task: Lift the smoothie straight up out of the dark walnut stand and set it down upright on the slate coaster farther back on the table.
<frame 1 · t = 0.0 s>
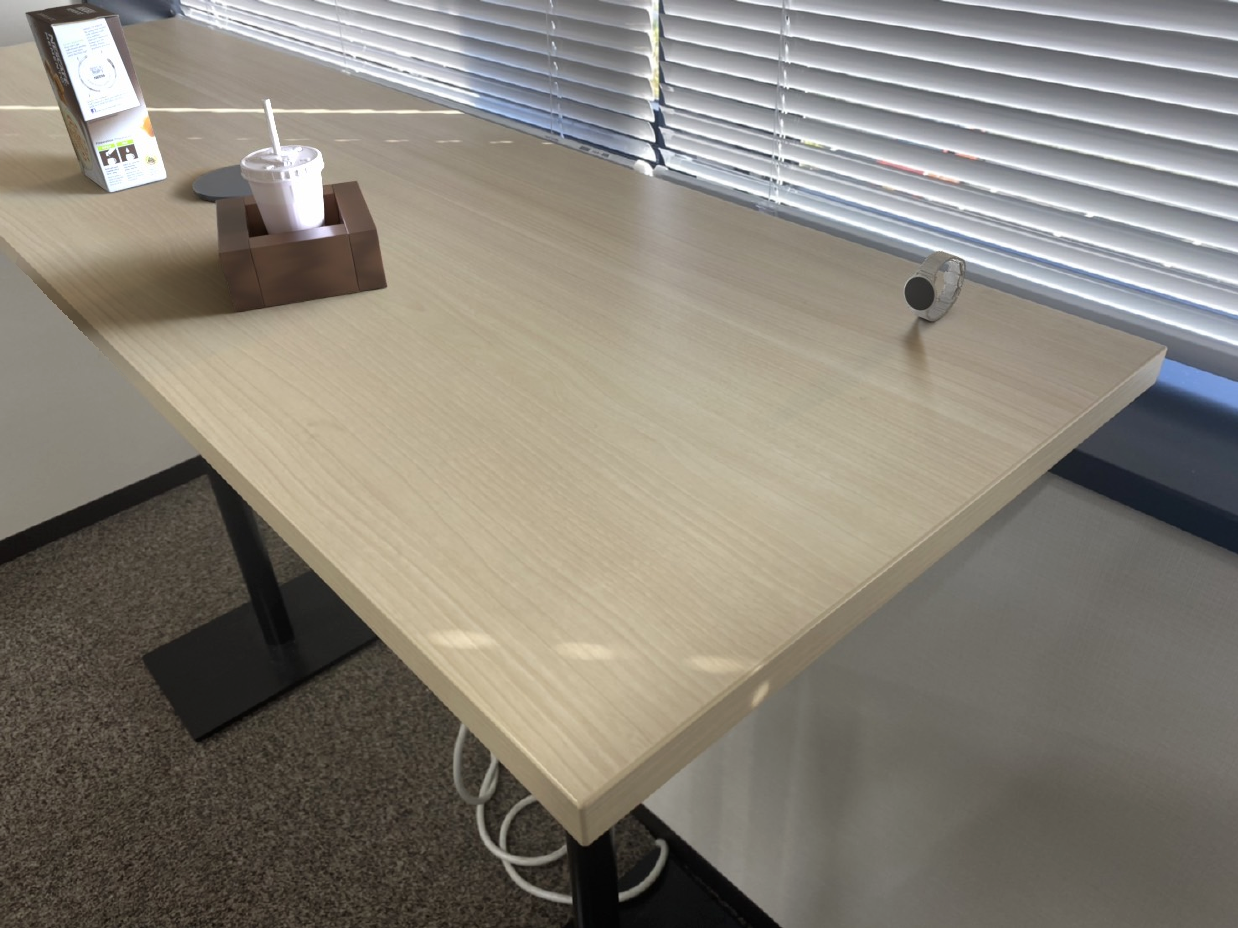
stand: (306, 270, 83), on the table
smoothie: (306, 272, 83), resting in stand
coffee box: (124, 177, 103), on the table
coaster: (245, 184, 100), on the table
wristwatch: (932, 318, 74), on the table
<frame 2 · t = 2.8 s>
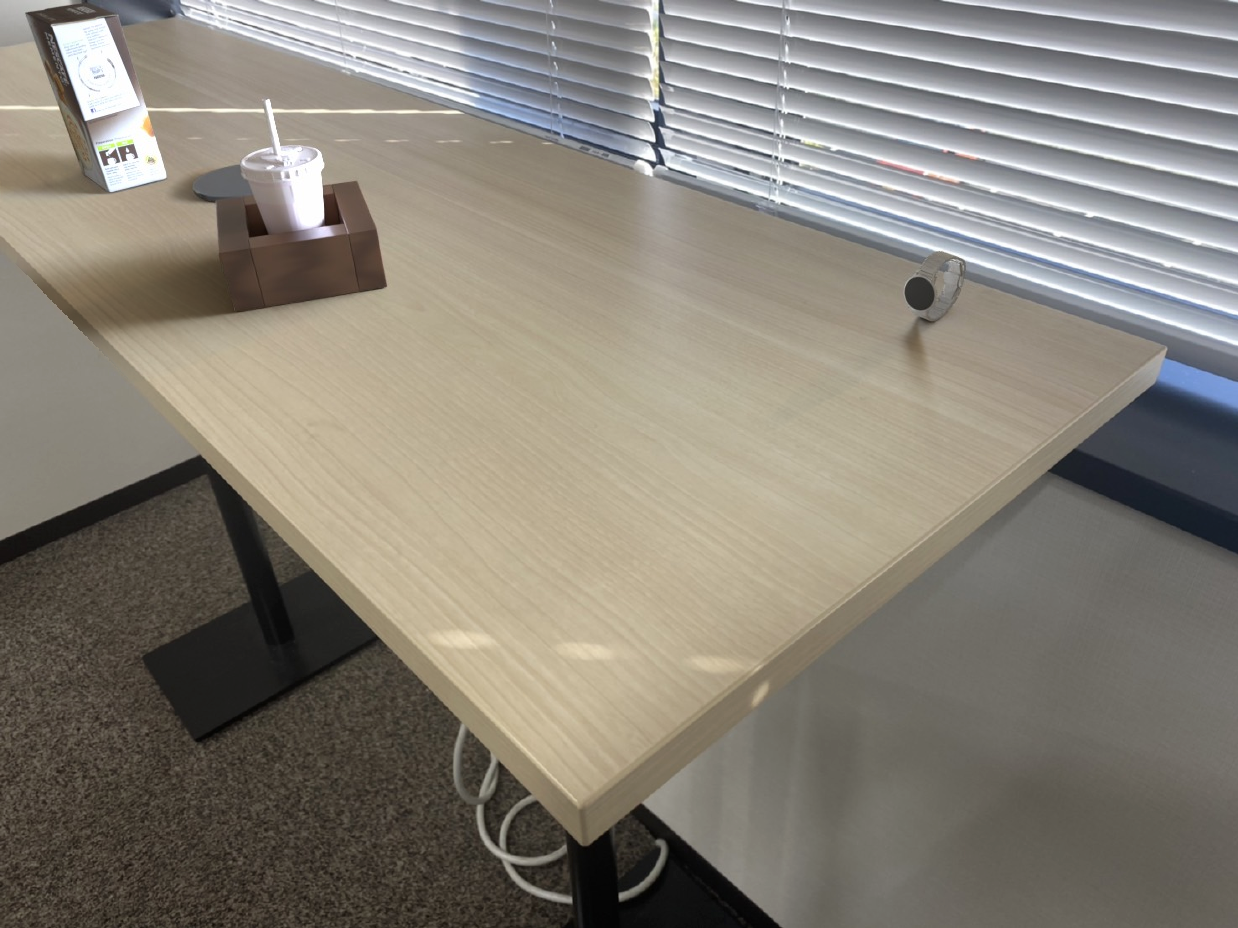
nothing on the table moved.
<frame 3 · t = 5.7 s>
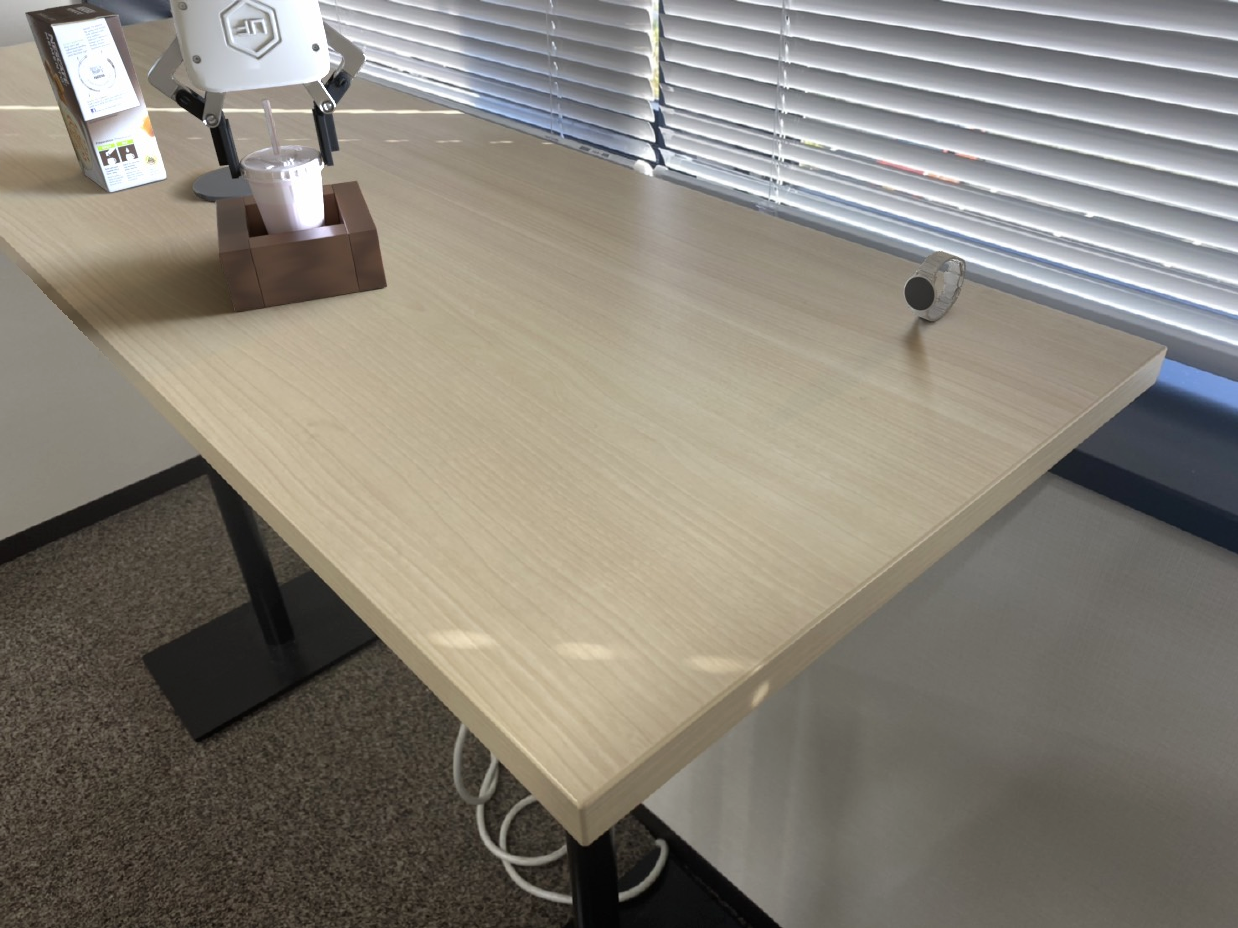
hand: (282, 165, 77), 9 cm above the table, tool pointing down, fingers closed on smoothie, 6 cm apart
smoothie: (306, 272, 83), resting in stand, touching gripper
everything else where it was.
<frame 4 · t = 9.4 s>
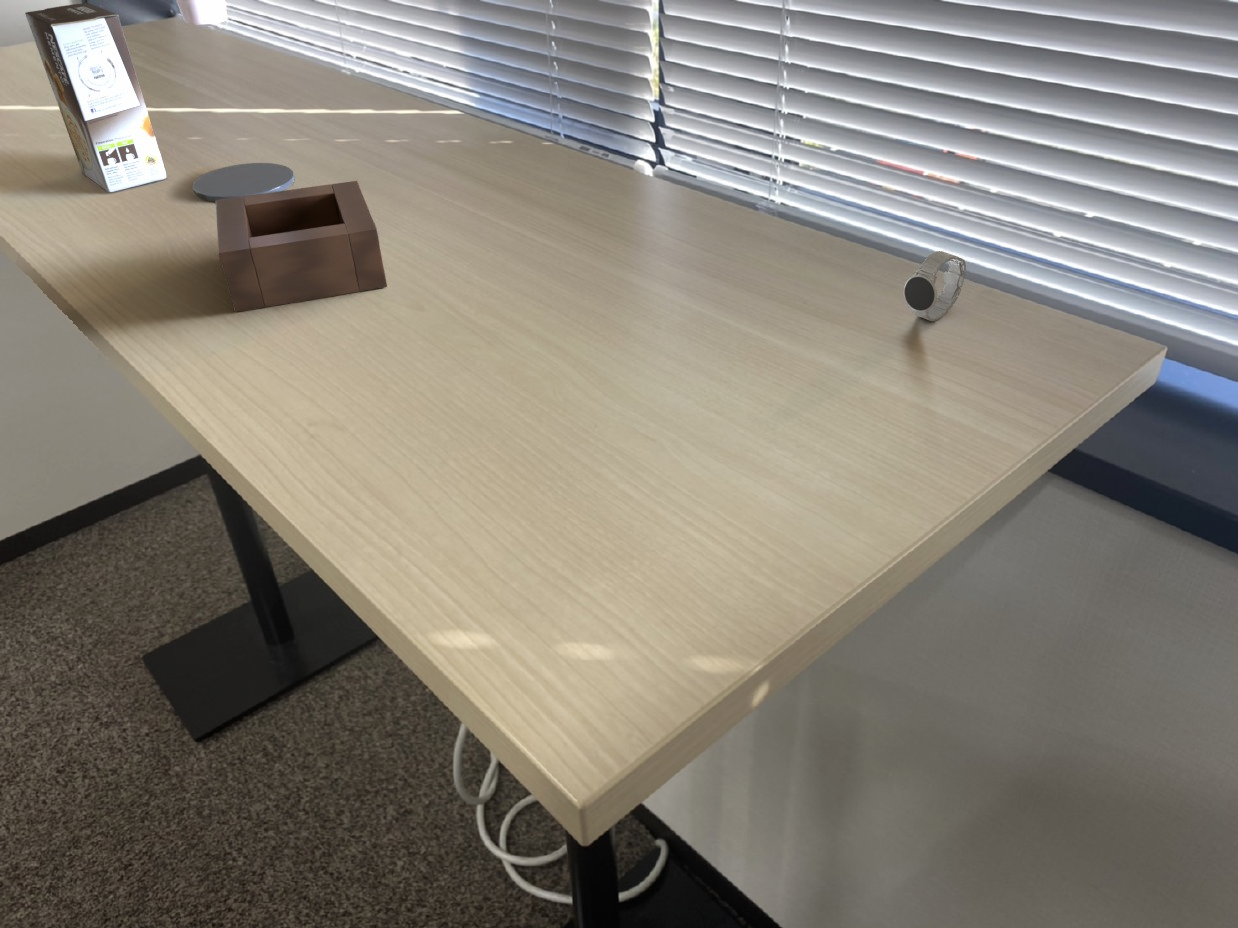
smoothie: (206, 22, 88), point 16 cm above the table, touching gripper
everything else where it was.
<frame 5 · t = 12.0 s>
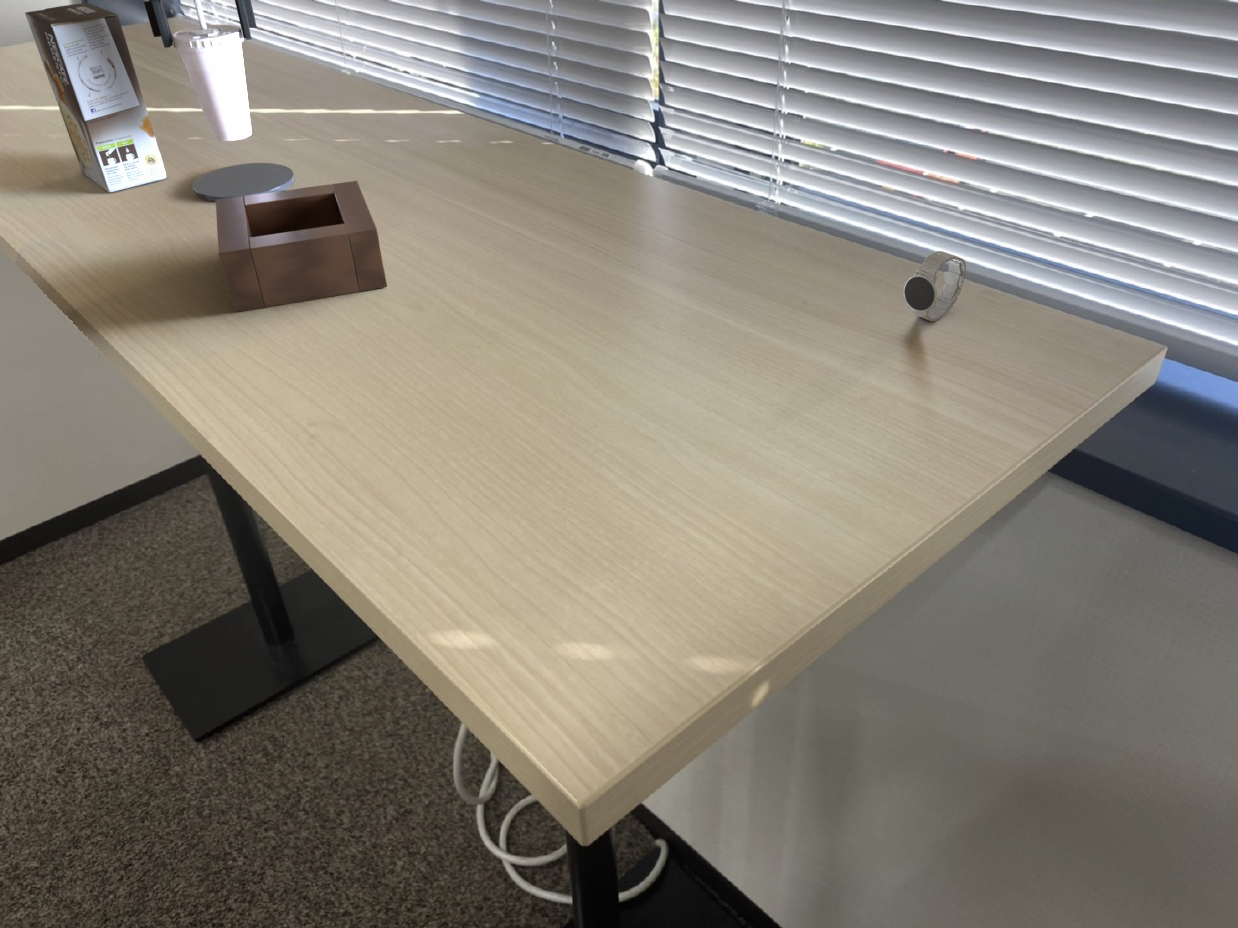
hand: (208, 38, 92), 14 cm above the table, tool pointing down, fingers closed on smoothie, 6 cm apart
smoothie: (233, 137, 97), point 5 cm above the table, touching gripper
everything else where it was.
when the fingers open (10 cm above the table, at t = 13.6 s): smoothie stays where it is, resting on coaster.
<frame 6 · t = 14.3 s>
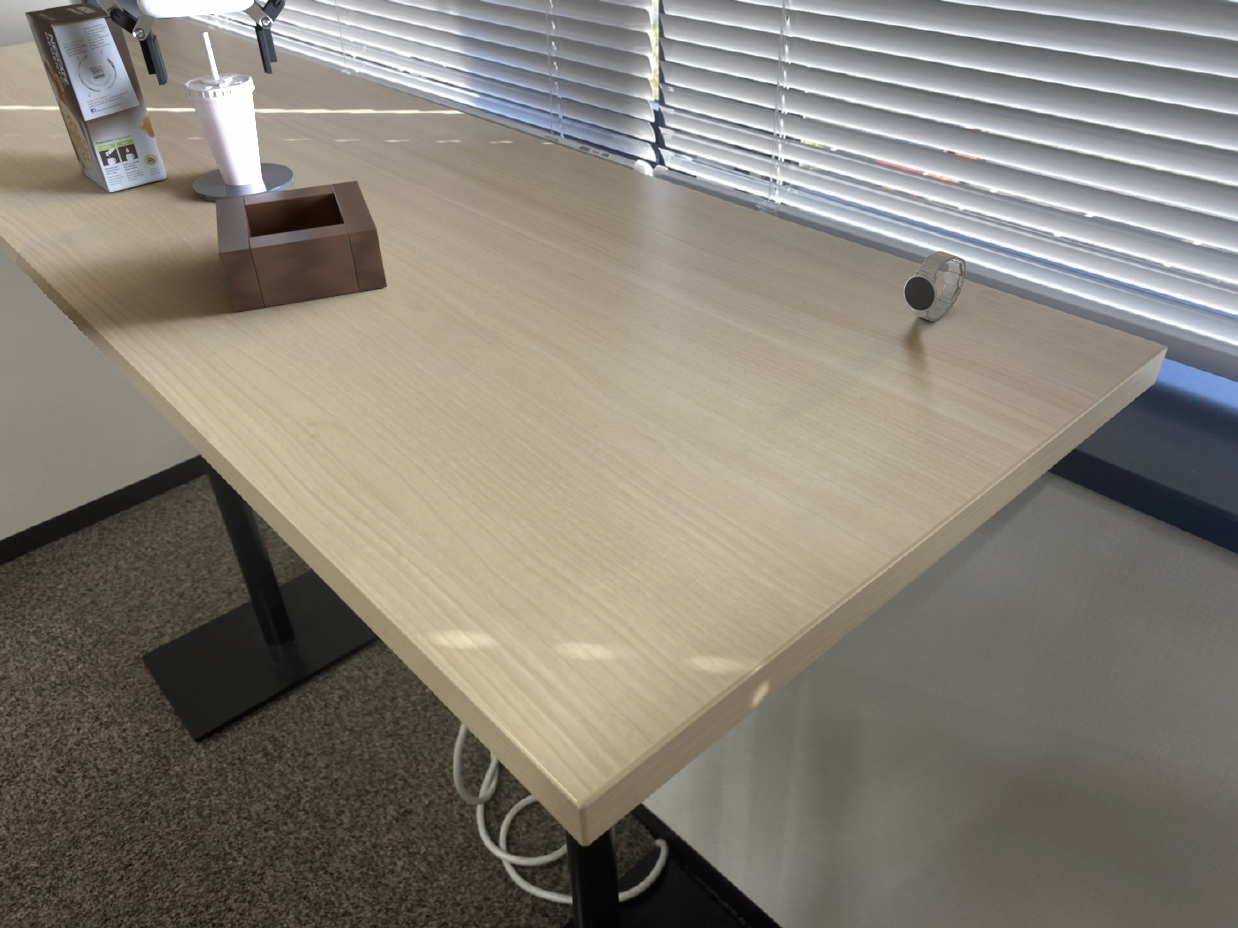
hand: (216, 76, 94), 11 cm above the table, tool pointing down, fingers open, 9 cm apart
smoothie: (243, 180, 100), resting on coaster
everything else where it was.
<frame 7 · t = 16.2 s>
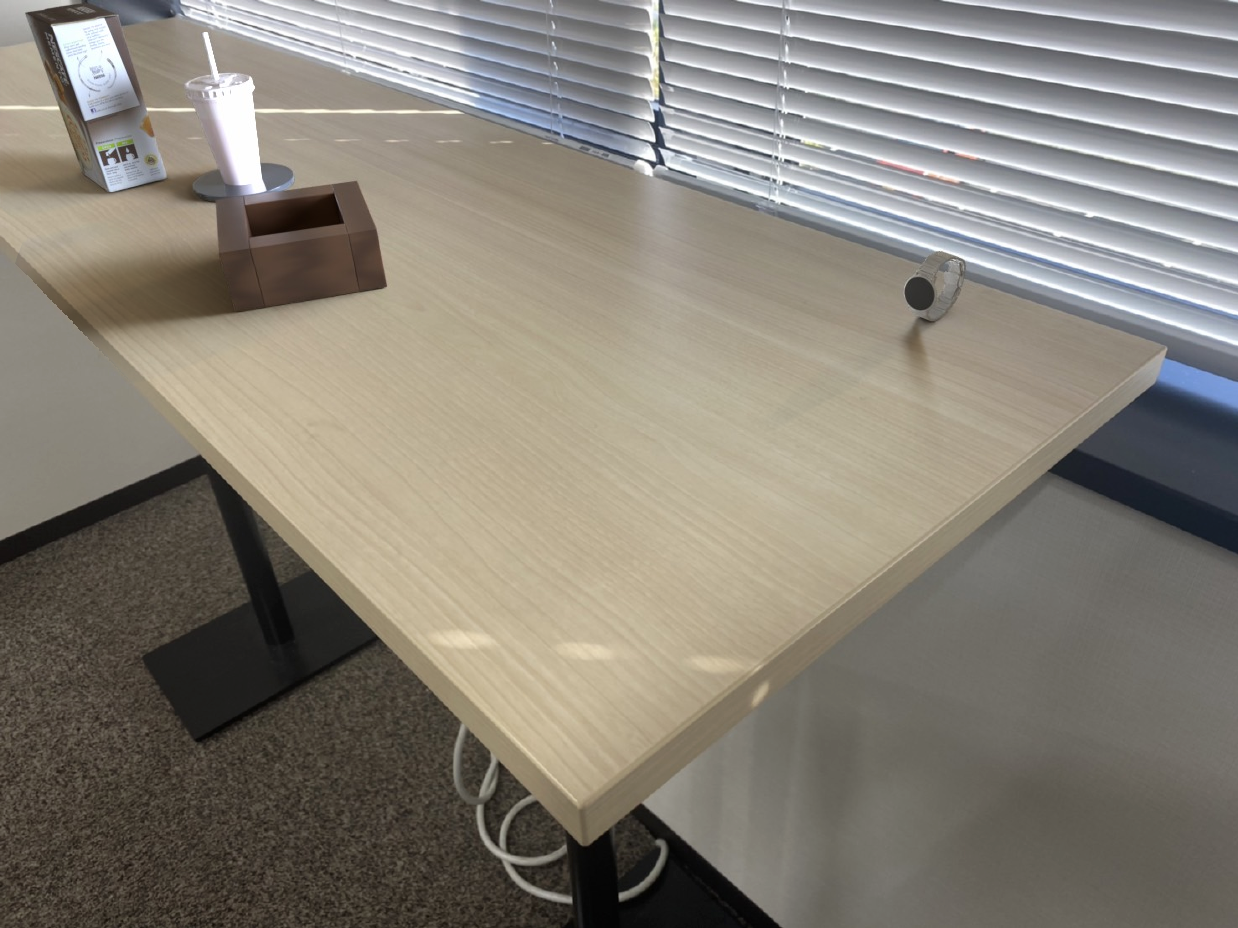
nothing on the table moved.
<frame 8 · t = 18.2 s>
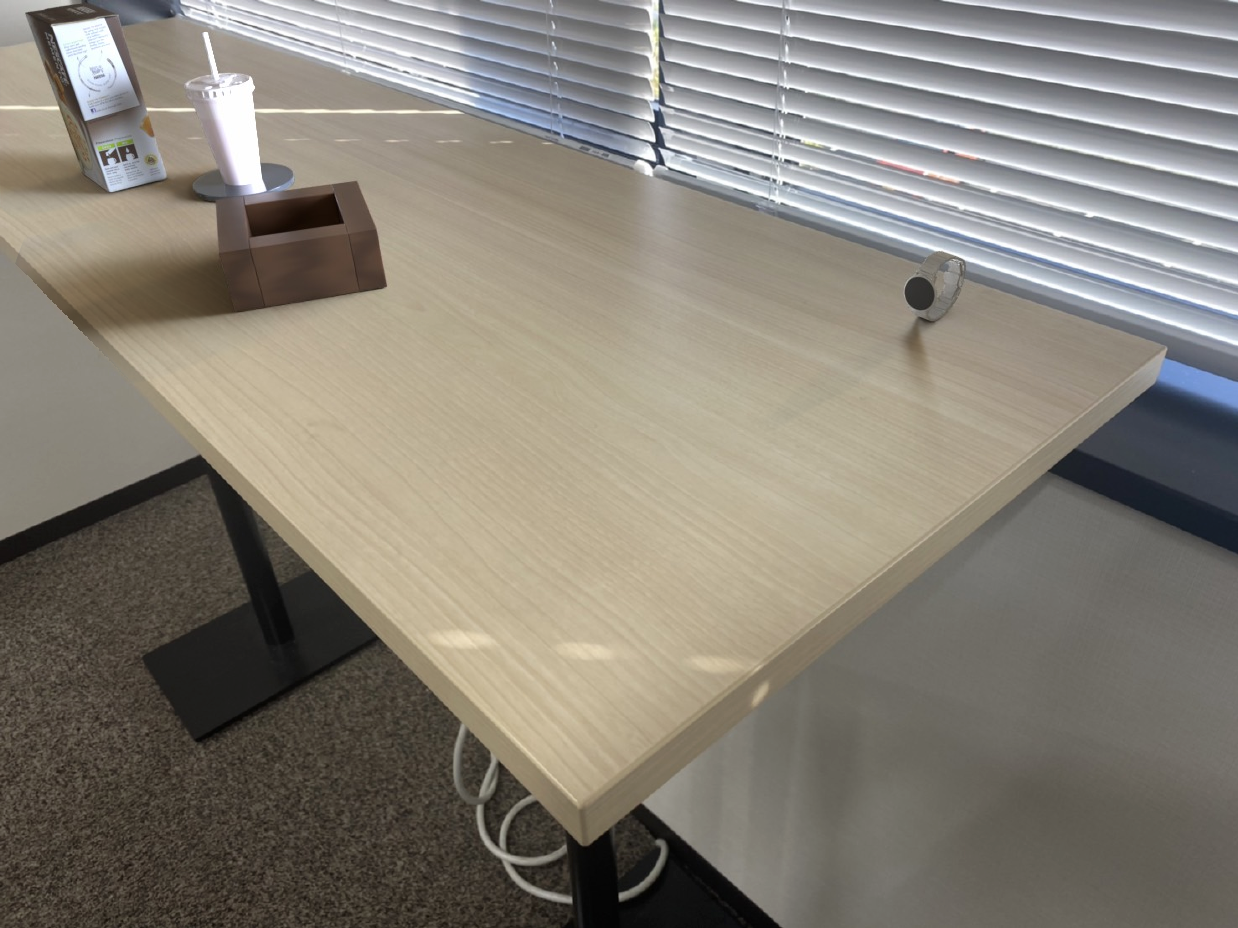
nothing on the table moved.
at the end: smoothie inside the target area on the coaster (0.1 cm from its centre), point 0.4 cm above the coaster's base; smoothie tilted 0°; smoothie touching coaster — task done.
